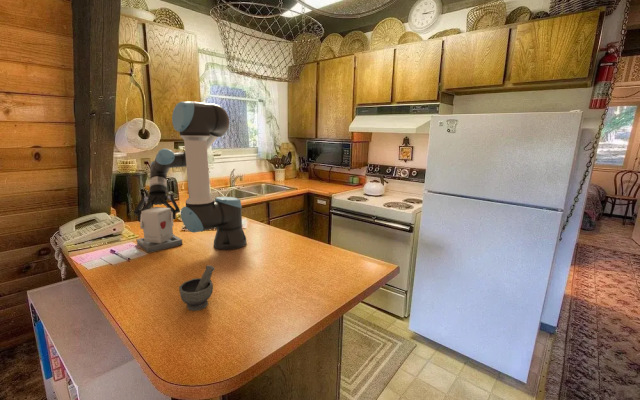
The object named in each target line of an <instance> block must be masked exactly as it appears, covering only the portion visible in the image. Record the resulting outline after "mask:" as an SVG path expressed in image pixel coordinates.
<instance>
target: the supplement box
mask: <svg viewBox="0 0 640 400" xmlns="http://www.w3.org/2000/svg"><path fill="white" fill-rule="evenodd" d="M141 213H142V222H143V229H142V230H143V238H144V241H145V242H151V243H160V244H161V243H163V242H165V241H167V240H169V239H171V238H173V235H174V229H173V228H174V227H173V226H171V208H167V207H162V206H153V207H150V208H149V209H147V210H144V211H141Z"/></svg>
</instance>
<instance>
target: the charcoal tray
mask: <svg viewBox="0 0 640 400" xmlns="http://www.w3.org/2000/svg"><path fill="white" fill-rule="evenodd" d="M136 244H137V246H139V247H140V248H141V249H142V250H144V252H146V253H148V254H150V253H155V252H158V251H162V250H167V249H171V248H174V247H178V246H182V245H183V239H182V238H180V237H178V236H177V235H175V234H173V238H171V239H169V240H167V241H165V242H163V243H161V244H160V243H151V242H145V241H144V237H141V238H137V239H136Z"/></svg>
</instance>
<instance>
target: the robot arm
mask: <svg viewBox="0 0 640 400" xmlns="http://www.w3.org/2000/svg"><path fill="white" fill-rule="evenodd" d="M171 117H172V118H171V121H172V123H171V124H172V126H173V129H174V130H175V132H178V133H179V138H181V139H182V140H183V142H184V151H182V152H180V151H179V152H177V151H176V152H174V151H173V150H171V149H169V148H160V149H159V150H158V152H157V154H156V155H155V159H154V160H153V161H151V163H150V167H149V170H150V171H149V172H150V173H149V188H148V189H149V193H148V194H149V195H148V196H144V195H141V198H140V201H139V203H138V204H137V206H136V207H135V209H134V210H133V214H134V216H135V217H136V216H137V221H138V222H139V228H140V229H141V230H143V222H142V213H141V211H144V210H147V209H150V208H153V207H154V206H157V205H160V206H161V205H163V206H164V207H165V208H171V226H172V227H174V220H176V219H177V214H178V213H180V218H181V221H182V224H183V225H184V227H185V229H186V230H187V231H189V232H190V233H199V232H204V231H208V230H211V229H215V228H216V233H215V235H214V239H213V246H214V248H215V249H217V250H221V251H231V250H237V249H240V248H243V247H245V246H246V245H247V237H246V235H245V232H244V228H243V217H242V216H243V214H242V209H243V208H242V201H241V199H240V198H237V197H234V196H233V197H232V196H217V197H215V198H213V197H212V196H211V185H210V184H211V183H210V171H209V156H208V149H209V148H210V147H211V146H212V145H213V144H214V142H215V141H216V140H217V139H219V138H221V137H223V136H224V135H225V134H226V132H227V131H228V129H229V126H230V117H229V114H228V113H227V111H226V110H225V109H224V108H223V107H222V106H221V105H218V104H215V103H206V102H198V101H180V102H178V103H177V104H176V105H175V106H174V108H173V111H172V115H171ZM185 167H186V179H187V189H188V198H187V199H186V200H185V206H183V207H182V208H181V209H180V207H179V206H178V204H177V202H176V200H175V197H174V194H173V193H172V194H170V195H167V187H168V185H167V184H168V183H167V181H168V180H167V178H168V177H167V176H168V172H169V170H170V169H171V168H172V169H173V168H176V169H177V168H185ZM168 199H169V201H170V202H171V203H172V205H173V206H172V205H171V204H170V203H169V202H168V201H167V200H168ZM146 202H147V203H146ZM145 203H146V204H145Z"/></svg>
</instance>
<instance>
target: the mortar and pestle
mask: <svg viewBox="0 0 640 400" xmlns="http://www.w3.org/2000/svg"><path fill="white" fill-rule="evenodd" d="M204 267H205V270H204V272H203V273H202V276H201V277H198V278H196V277H195V278H191V279H189V280H186V281H184V282H182V283H181V284H180V285H179V286H178V290H179V295H180V299H181V301H182V302H183V303H184V304H186V308H187V310H189V311H191V312H195V311H197V312H198V311H201V310H203V309H205V308H206V307H207V306H208V305H209V302H208V300H209V299H210V297H212V295H213V292H214V291H213V290H214V284H213V282H212V279H211V277H212V274H213V273H214V271H215V270H216V269H215V267H214V266H213V265H209V264H207V265H205V266H204Z"/></svg>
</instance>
